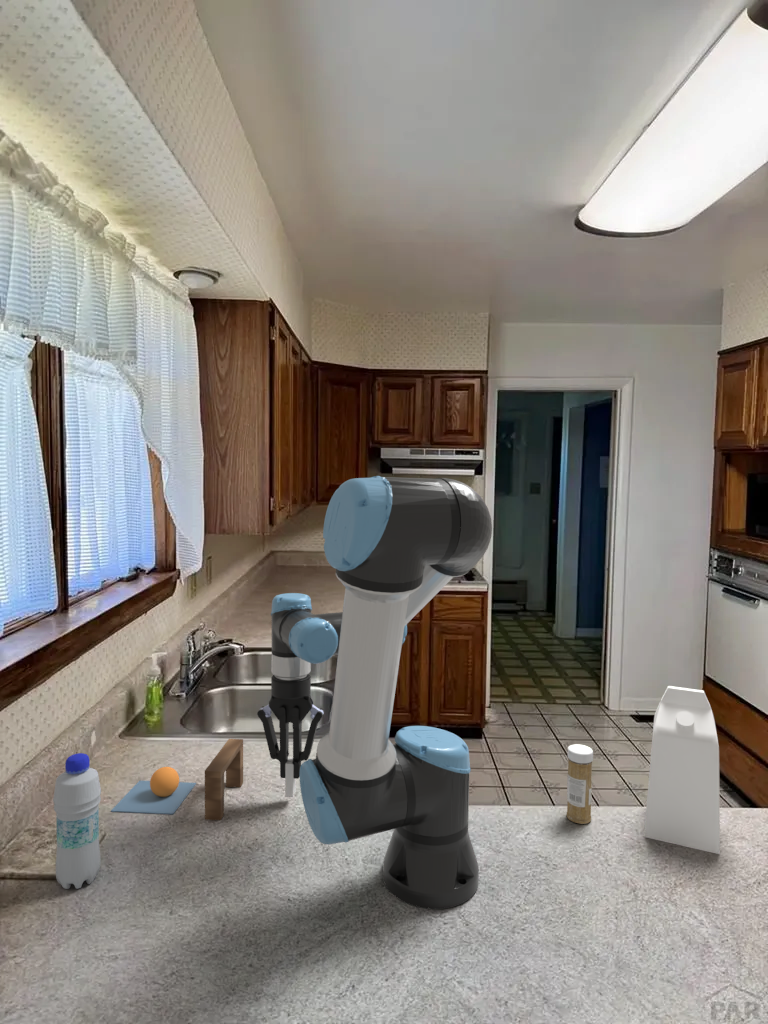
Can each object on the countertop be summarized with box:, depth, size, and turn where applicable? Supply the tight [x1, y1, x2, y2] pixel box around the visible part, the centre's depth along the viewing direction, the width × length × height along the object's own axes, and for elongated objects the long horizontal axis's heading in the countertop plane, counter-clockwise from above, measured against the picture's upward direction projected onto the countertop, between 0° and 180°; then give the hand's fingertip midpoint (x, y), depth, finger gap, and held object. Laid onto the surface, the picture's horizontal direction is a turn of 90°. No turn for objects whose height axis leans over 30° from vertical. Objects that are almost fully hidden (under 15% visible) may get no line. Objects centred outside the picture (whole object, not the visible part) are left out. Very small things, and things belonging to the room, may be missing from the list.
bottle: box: [52, 752, 102, 890], centre depth 98 cm, size 7×7×20 cm
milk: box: [643, 685, 721, 855], centre depth 114 cm, size 12×12×26 cm
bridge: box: [204, 738, 244, 821], centre depth 123 cm, size 3×14×9 cm, turn 176°
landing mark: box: [110, 779, 197, 815], centre depth 124 cm, size 12×12×1 cm
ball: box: [149, 766, 180, 797], centre depth 125 cm, size 6×6×6 cm
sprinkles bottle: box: [566, 743, 594, 825], centre depth 118 cm, size 5×5×13 cm
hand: (290, 793), depth 122 cm, fingers closed
